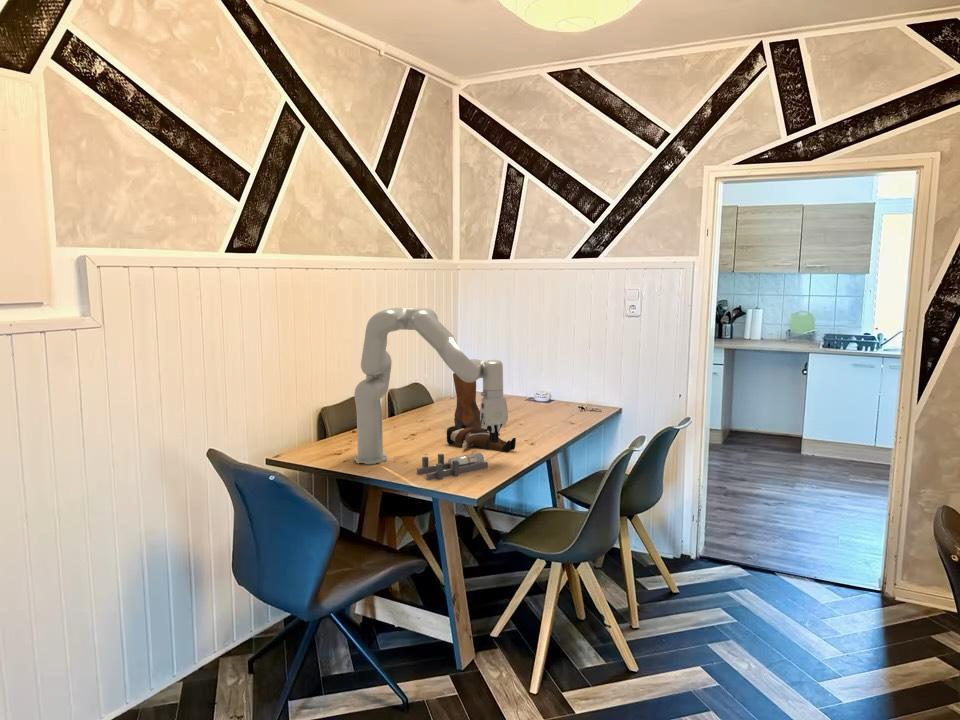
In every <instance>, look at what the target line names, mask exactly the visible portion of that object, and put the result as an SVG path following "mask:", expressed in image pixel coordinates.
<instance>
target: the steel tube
mask: <svg viewBox="0 0 960 720" xmlns="http://www.w3.org/2000/svg"><path fill="white" fill-rule="evenodd" d="M454 460H457V461H459V467H461V466H466V465H471V464H476V463H481V462H485V456H484V454H483V453H481V452H478V453H477V452H476V453H472V454H465V455H462V456H455V457H450V458H448V459H447V463H448V467H449V469H452V461H454Z"/></svg>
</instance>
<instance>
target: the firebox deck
mask: <svg viewBox="0 0 960 720" xmlns="http://www.w3.org/2000/svg"><path fill="white" fill-rule="evenodd" d="M421 460H422V461H421V465H422V466H421V467H418V468H416V471H415V472H414V474H416V475H418V476H420V477H422V479H425V480H427V481H429V482H431V483H432V482H436V481H441V480H447V479H450V478H455V477H459V476H460V477H461V476H465V475H470V474H475V473H479V472H484V471H488V470H491V468H489V462H488V461H484V462H481V463H476V464H471V465H466V466H461V467H459V461H457V460H454V461H452V469H449V467H448V462H445V454H443V453H438V454H437V463H436V464H433V465H429V457H428V456H422V458H421Z"/></svg>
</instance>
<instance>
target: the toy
mask: <svg viewBox="0 0 960 720" xmlns="http://www.w3.org/2000/svg"><path fill="white" fill-rule="evenodd" d="M473 431H474V428H465V429H464V428H460V429H458V427H457V426H455V425H453V426H450V427H448V428H447V429H446V443H447V444H448V445H454V444H455V443H456V444H458V445H462V446H461V448H462V449H465V448H469V447H472V446H475V447H478V448H481V449H484V450H487V451H488V450H491V451H500V452H504V453H505V454H508V453H510V451H513V450H515V449H516V442H517V439H516V437H513V438H512V439H511V440H507V441H505V440H503V439H501V438H500V437H499V439H498V443H492V442H490V434H489V431H485V432H481V433H476V434H474V433H473ZM453 443H454V444H453Z"/></svg>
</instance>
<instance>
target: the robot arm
mask: <svg viewBox="0 0 960 720" xmlns="http://www.w3.org/2000/svg"><path fill="white" fill-rule="evenodd" d="M400 330H403V331H404V330H405V331H406V330H407V331H415V332H417V333H418V335H420V337H422V338H423V339H424V340H425V342H427V343H428V344H429V345H430V346H431V347H432V348H433V349H434V350H435V351H436V353H437V354H438V355H439V357H440V358H441V359H442V361H443V362H444V363H445V364H446V366H447V367H448V368H449V369H450V370H451V371H452V372H453V374H454V373H455V374H456V375H457V376H458V377H459V378H460V379H461V380H463V381H465V382H467V383H472V382H475V381H476V382H477V380H479V379H482V391H481V392H480V396H481V401H480V409H479V410H480V422H481V423H482V424H481V428H483V429H487V430H488V431H489V434H490V442H492V443H498V439H499V438H500V437H499V432H501V428H502V427H503V426H505V425H507V423H508V422H509V410H508V403H507V398H506V396H504V365H503V362H502V360H497V359H490V360H483V359H474V358H473V359H470V358H468V356H467V355H465V353H464V352H463V351H462V350H461V348H460V347H459V346H458V343H457V341H456V337H455V335H453V333H452V332H451V331H449V329H447V328H446V327H445V326H444V325H443V324H442V322H441V321H439V317H438V314H437V313H436V311H434V310H432V309H431V308H425V307H424V308H422V307H421V308H416V307H394V308H387V309H383V310H380V311H379V312H376V313H375V314H373V315H372V316H371V317H370V318H369V320H368V321H367V324H366V328H365V331H364V332H365V333H364V340H363V346H362V353H361V361H360V368H361V371H362V373H363V374H364V375H366V376H365V379H363V380H361V381H360V382H359V383H358V384H357V385H356V387H355V389H354V392H353V393H354V401H355V402H354V403H355V407H356V408H355V409H356V427H357V428H356V431H357V455H355V456H354V458H353V461H354V460H355V461H356V462H359V463H365V464H364V465H377V464H376V463H378V464H382V463H384V462H386V461H387V460H388V456H387V455H386V454H385V453H384V439H383V438H384V437H383V411H382V410H383V409H382V405H381V399H382V398H384V397H385V396H386V394H387V393H388V391H389V385H390V377H391V370H392V365H393V363H392V358H391V355H390V354H389V353H390V352H388V351H387V346H388V334H389V333H392V332H396V331H400ZM355 461H354V462H355ZM356 462H355V463H356ZM381 462H382V463H381ZM359 463H358V464H359Z"/></svg>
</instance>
